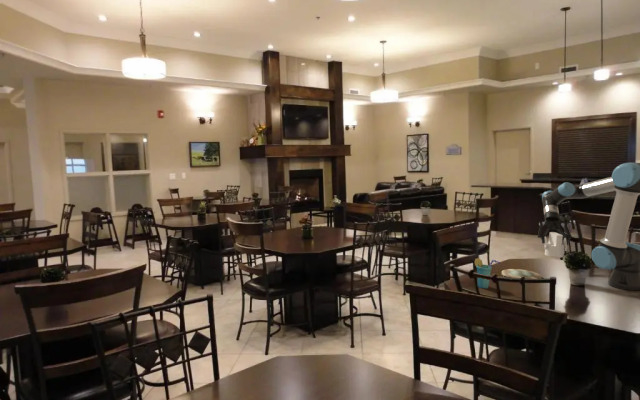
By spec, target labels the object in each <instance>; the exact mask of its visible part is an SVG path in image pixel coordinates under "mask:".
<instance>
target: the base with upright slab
mask: <svg viewBox="0 0 640 400" xmlns="http://www.w3.org/2000/svg"><path fill="white" fill-rule="evenodd" d="M564 252H565V249H564V243H563V235H561V234H560V233H559V232H557V231H556V232H555V231H548V241H547V249H545V248H544V255H545V256H547V257H550V258H563V257H564V255H565V253H564Z"/></svg>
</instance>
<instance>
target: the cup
mask: <svg viewBox="0 0 640 400" xmlns="http://www.w3.org/2000/svg"><path fill="white" fill-rule="evenodd" d="M493 263H497V264H500V263H501V262H500V261H498V260H496V259H492V260H491V261H490V264H489V265H488V264H483V261H482V259H481V258H479V257H477V258H475V259H474V266H475V267H476V274H477V273H479V274H483V275H489V276H490V277H491V273H492V268H493V267H492V265H493ZM476 278H477V277H476ZM489 284H490V280H487V279H482V278H477V287H478V288H479V289H489Z"/></svg>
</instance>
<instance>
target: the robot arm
mask: <svg viewBox="0 0 640 400" xmlns="http://www.w3.org/2000/svg"><path fill="white" fill-rule="evenodd" d="M609 192H611V193H612V192H615V193H616V194H615V196H614V202H613V205H612V208H611V212H610V216H609V221H608V224H607V228H606V231H605V234H604V237H603V238H601V239H600V240H599V243H598V246H596V247H594V248H593V249H592V251H591V259H592V262H593V263H594V264H595V266H596V267H598V268H599V269H602V270H608V271H611V270H612V272H611V274H610V276H609V278H608V282H607V284H608V285H609V286H611V287H613V288H617V289H620V290H625V289H628V290H627V291H634V290H639V289H640V244H639V243H633V242H628V241H626V239H627V235H628V233H629V228H630V224H631V222H632V217H633V215H634V211H635V207H636V205H637V199H638V196H640V162H631V161H630V162H625V163H621V164H619V165H618V166H616V167H615V168H614V169H613V171H612V174H611V176H610V177H605V178H602V179H601V178H600V179H598V180H597V179H596V180H595V181H593V180H592V181H590V182H586V183H581V184H576V185H574V184H573V183H570V182H568V181H567V182H563V183H562V184H560V185H559V186H558V187H556V188H555V189H553V190H547V191H544V192H543V193H542V195H541V203H542V208H543V215H544V221H542V220H541V221H539V223H538V225H539V229H538V234H537V239H539V238H540V239H541V243H542V244H543V245H544V250H545V249H547V243H548V241H547V236H546V235H547V234H548V233H549V230H556V232H557V233H558V234H561V235H563V237H562V243H563V245H564V252H567V250H568V245H569V243H570V242H569V241H570V240H571V239H572V237H573V236H572V234H571V232H570V229H569V228H568V224H567V222H561V219H560V212H559V204H560V203H562V202H563V201H565V200H573V199H574V200H575V199H587V198H589V197H591V196H592V197H593V196H598V195H600V194H601V195H602V194H607V193H609ZM544 226H545V230H544V232H543V233H542V231H543V227H544ZM562 228H563V229H562ZM639 291H640V290H639Z"/></svg>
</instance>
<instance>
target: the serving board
mask: <svg viewBox="0 0 640 400" xmlns="http://www.w3.org/2000/svg"><path fill="white" fill-rule="evenodd" d="M502 275H503V276H502ZM501 276H502V277H504V276H506V277H511V278H521V277H525V278H528V279H541V280H542V274H540V273H538V272H536V271H532V270H527V269H518V268H516V269H515V268H507V269H503V270H501ZM506 277H505V278H506Z"/></svg>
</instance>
